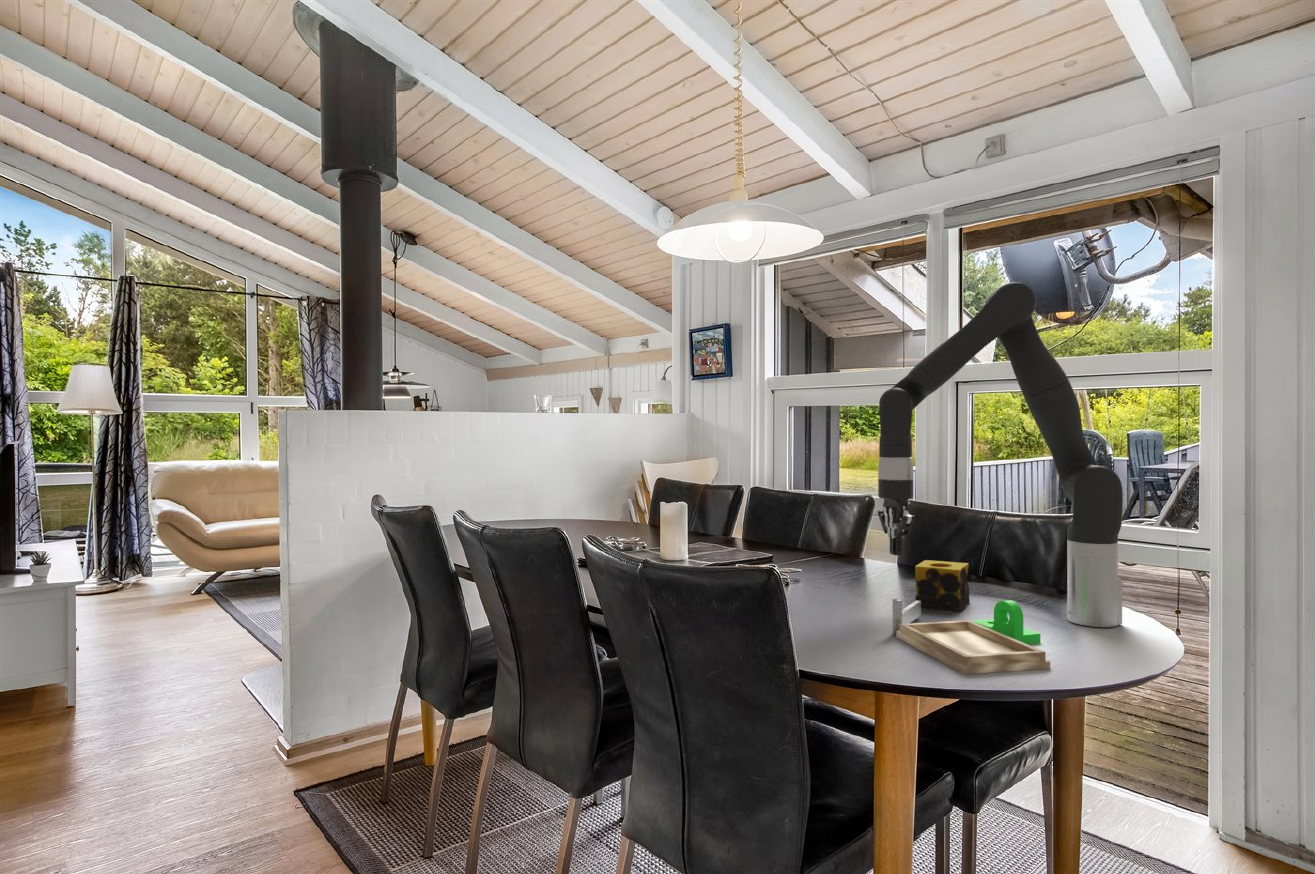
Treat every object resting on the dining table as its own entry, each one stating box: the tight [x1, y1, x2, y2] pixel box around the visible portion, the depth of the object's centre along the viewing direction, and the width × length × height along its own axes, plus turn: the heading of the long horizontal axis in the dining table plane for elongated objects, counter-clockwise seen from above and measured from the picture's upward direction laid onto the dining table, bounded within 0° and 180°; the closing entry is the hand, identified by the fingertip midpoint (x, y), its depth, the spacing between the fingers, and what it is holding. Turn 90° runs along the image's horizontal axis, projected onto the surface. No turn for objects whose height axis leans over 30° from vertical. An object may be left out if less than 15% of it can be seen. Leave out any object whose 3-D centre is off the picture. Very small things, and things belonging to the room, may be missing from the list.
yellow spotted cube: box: [914, 559, 971, 613], centre depth 171 cm, size 10×10×10 cm
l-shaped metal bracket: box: [892, 598, 922, 637], centre depth 154 cm, size 16×2×7 cm, turn 145°
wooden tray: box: [895, 619, 1051, 675], centre depth 136 cm, size 16×23×3 cm
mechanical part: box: [971, 599, 1041, 645], centre depth 147 cm, size 12×6×8 cm, turn 17°
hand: (895, 554), depth 167 cm, fingers closed
